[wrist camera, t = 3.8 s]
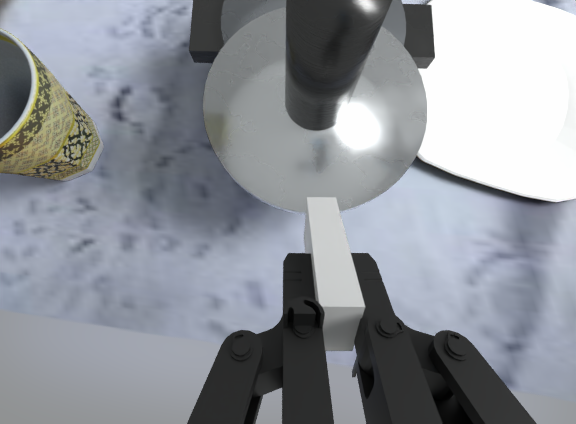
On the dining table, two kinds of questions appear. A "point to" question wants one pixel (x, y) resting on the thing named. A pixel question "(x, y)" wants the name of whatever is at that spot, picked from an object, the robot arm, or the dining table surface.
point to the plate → (503, 96)
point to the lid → (315, 104)
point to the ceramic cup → (41, 120)
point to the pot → (253, 3)
